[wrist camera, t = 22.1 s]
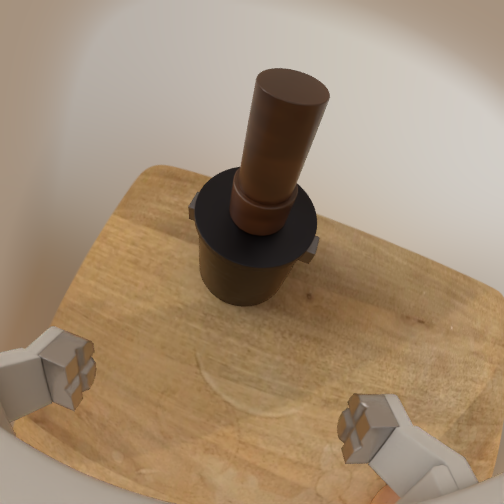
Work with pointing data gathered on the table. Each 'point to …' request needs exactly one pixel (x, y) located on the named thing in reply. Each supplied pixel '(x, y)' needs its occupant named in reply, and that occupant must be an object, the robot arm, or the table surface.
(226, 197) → the black cooking pot
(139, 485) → the table surface
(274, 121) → the walnut pestle
